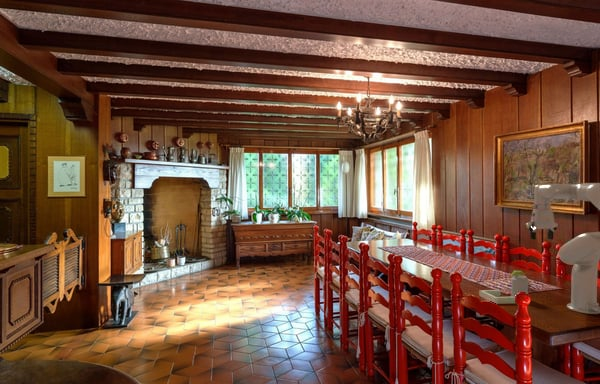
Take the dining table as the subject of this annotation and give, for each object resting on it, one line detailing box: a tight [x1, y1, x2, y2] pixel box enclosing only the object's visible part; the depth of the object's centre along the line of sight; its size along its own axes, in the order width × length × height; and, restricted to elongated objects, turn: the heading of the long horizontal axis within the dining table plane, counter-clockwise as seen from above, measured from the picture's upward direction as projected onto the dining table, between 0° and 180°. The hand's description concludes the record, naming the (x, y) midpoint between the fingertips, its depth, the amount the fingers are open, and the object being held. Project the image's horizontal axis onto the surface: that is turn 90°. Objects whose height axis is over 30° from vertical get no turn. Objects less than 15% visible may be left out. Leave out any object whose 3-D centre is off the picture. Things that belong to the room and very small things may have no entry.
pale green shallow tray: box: [478, 289, 516, 305], centre depth 184 cm, size 13×11×3 cm
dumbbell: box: [510, 270, 530, 286], centre depth 212 cm, size 16×8×7 cm, turn 154°
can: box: [510, 275, 529, 297], centre depth 185 cm, size 8×8×12 cm
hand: (541, 239), depth 191 cm, fingers open, 9 cm apart
